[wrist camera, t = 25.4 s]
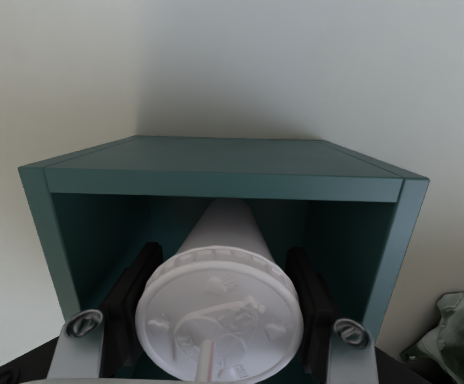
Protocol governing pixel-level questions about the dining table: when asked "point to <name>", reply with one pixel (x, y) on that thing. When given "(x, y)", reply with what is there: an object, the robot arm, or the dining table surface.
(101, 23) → the dining table surface
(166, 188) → the bin
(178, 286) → the smoothie
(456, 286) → the dining table surface
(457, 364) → the rose bouquet
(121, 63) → the dining table surface
